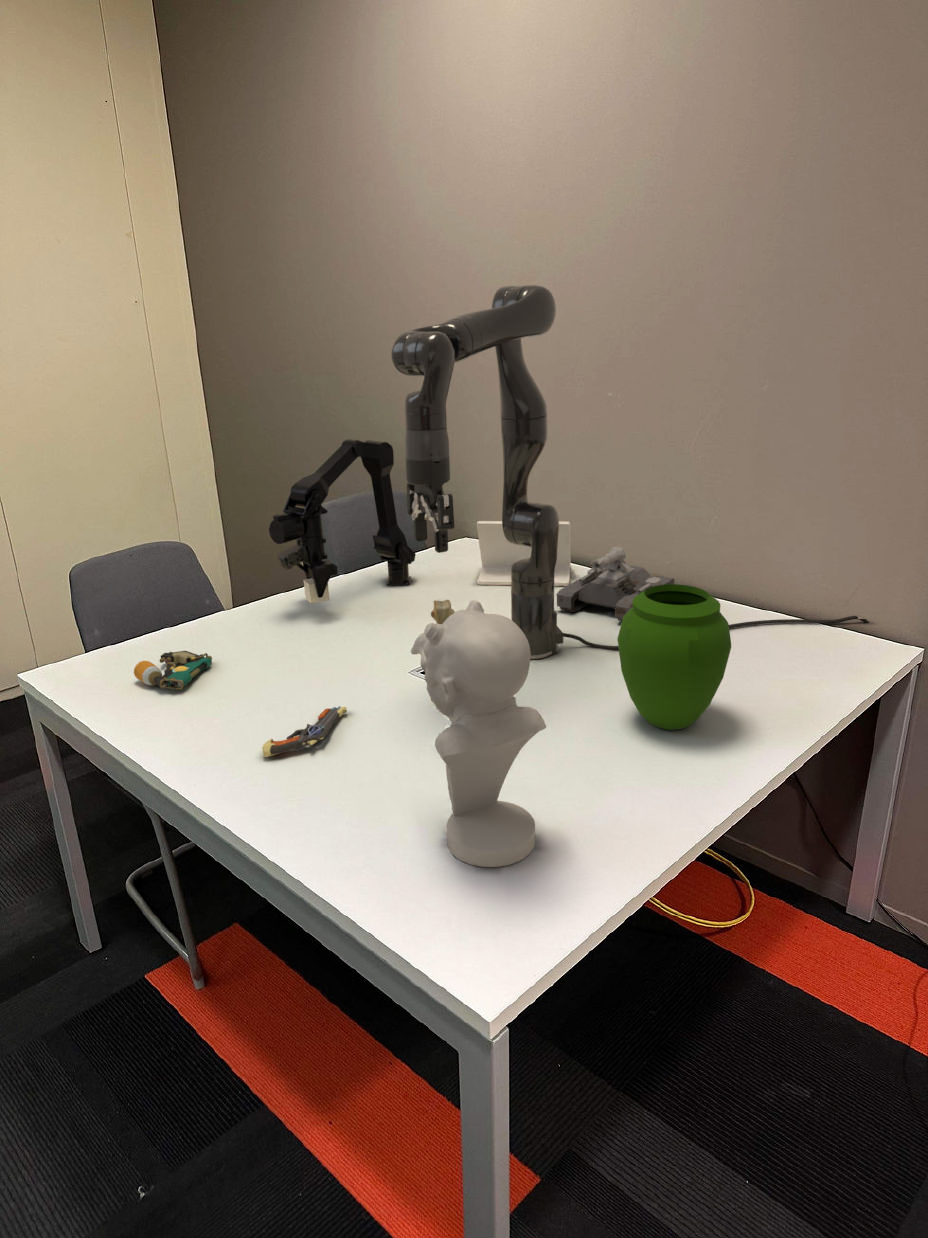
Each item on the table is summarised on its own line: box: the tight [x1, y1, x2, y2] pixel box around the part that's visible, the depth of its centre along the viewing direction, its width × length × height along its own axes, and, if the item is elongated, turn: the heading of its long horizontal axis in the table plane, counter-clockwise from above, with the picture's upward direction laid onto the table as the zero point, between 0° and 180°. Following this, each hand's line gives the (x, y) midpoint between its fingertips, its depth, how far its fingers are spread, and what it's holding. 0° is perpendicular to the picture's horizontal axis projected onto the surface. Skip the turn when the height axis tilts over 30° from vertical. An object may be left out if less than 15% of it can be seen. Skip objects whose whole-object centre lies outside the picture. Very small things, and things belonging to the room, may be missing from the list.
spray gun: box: [133, 650, 213, 690], centre depth 180 cm, size 4×17×15 cm
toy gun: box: [261, 705, 348, 758], centre depth 154 cm, size 3×19×10 cm
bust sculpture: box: [410, 599, 547, 868], centre depth 121 cm, size 16×24×35 cm
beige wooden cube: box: [303, 578, 330, 604], centre depth 213 cm, size 5×5×5 cm
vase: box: [616, 583, 732, 731], centre depth 151 cm, size 20×20×24 cm
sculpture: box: [430, 599, 456, 624], centre depth 177 cm, size 6×7×15 cm
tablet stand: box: [476, 520, 572, 587], centre depth 236 cm, size 18×25×17 cm
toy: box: [556, 546, 676, 622], centre depth 212 cm, size 25×20×15 cm
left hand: (317, 594), depth 214 cm, fingers closed on beige wooden cube, 5 cm apart
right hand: (431, 546), depth 152 cm, fingers open, 8 cm apart
